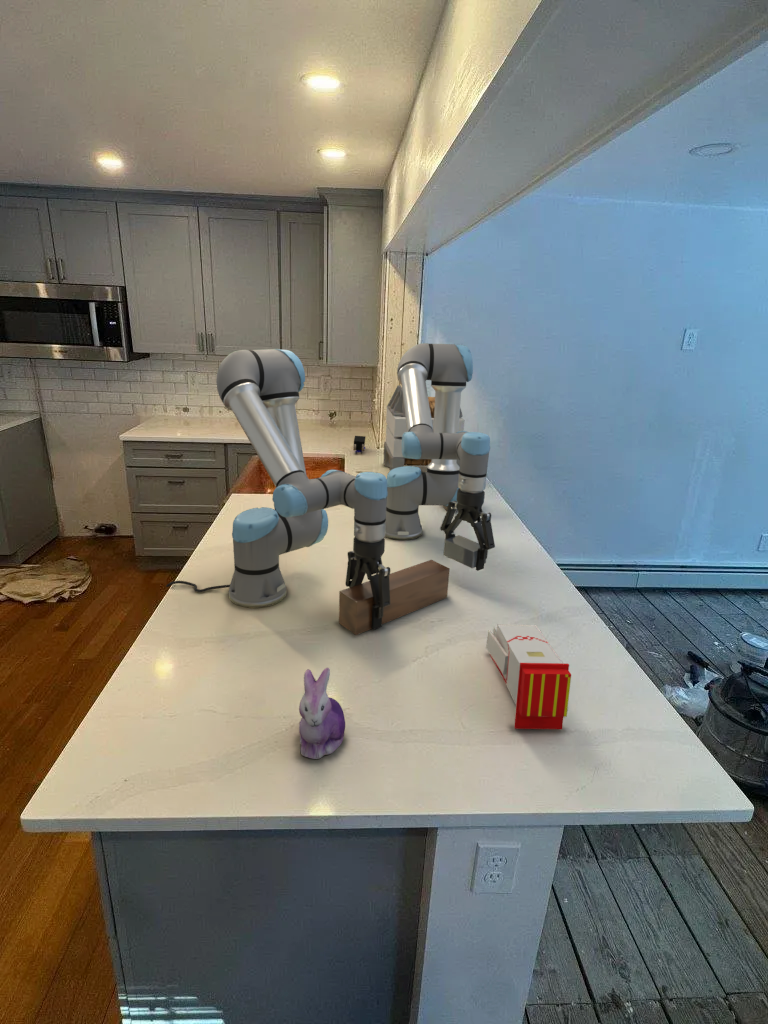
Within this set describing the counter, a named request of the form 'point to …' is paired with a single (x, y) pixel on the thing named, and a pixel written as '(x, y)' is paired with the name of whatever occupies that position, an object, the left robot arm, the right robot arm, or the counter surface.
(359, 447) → the figurine character
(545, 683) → the toy
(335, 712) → the figurine
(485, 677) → the counter surface
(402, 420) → the transformer
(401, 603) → the walnut stand
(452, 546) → the grey block
